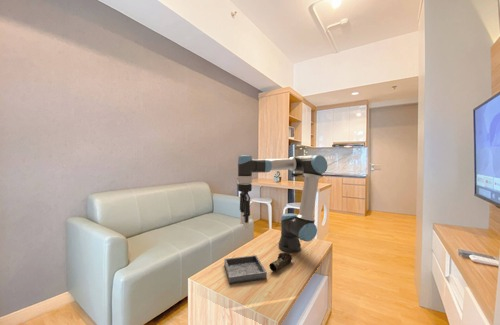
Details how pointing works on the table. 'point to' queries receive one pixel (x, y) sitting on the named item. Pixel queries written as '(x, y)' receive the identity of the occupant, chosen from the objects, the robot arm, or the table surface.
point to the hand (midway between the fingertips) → (244, 226)
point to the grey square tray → (244, 269)
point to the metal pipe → (280, 261)
